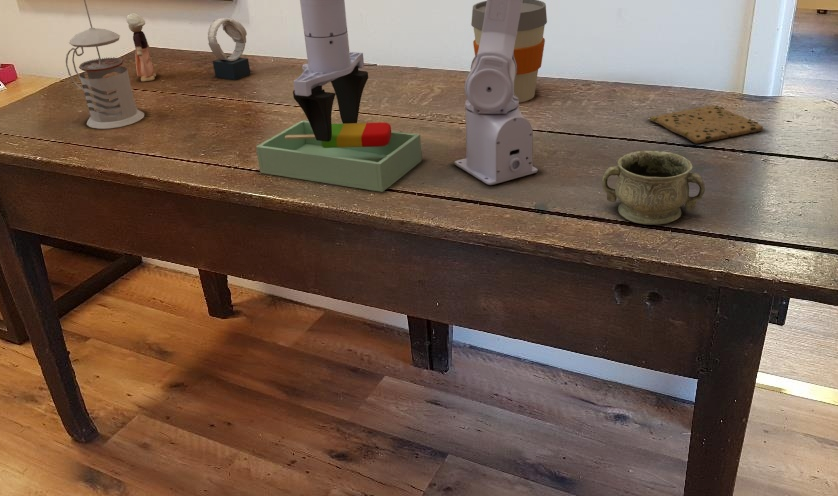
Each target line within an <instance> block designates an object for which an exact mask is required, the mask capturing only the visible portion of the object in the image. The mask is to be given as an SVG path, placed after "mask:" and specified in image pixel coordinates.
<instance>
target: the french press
mask: <svg viewBox="0 0 838 496" xmlns="http://www.w3.org/2000/svg"><path fill="white" fill-rule="evenodd" d="M83 3H84V7H85V10H86V14H87V18H88V21H89V25H90V27H89V28H88V29H85V30H83V31H81V32H78V33H77V34H75V35H74V36H73V37H72V38H71V39H70V40H69V42H68V44H69V45H71V46H72V48H70V49H69V50H68V52H67V53H66V55H65V67H66V70H67V73H68V76H69V78H70V80H71V81H72V82H73V84H74V85H75V86H76V87H78V89H80V90H82V91H83V94H84V97H85V101H86V105H87V109H88V113H89V117H88V119H87V122H86V125H87V126H88V127H89V128H93V129H113V128H121V127H125V126H129V125H132V124H134V123H137V122H140V121H141V120H142V119H143V118H145V113H144V112H143V111H141V110H140V109H139V108H138V107H137V105H136V104H137V103H136V99H135V98H134V97H135V95H134V92H133V91H132V90H133V87H132V85H131V79H130V75H129V72H128V68H127V67H125V66H122V65H123V63H124V59H122V58H120V57H114V56H113V57H104V58H103V57H101V55H100V50H99V47H103V46H107V45H108V46H109V45H111V44H114V43H116V42H119V41H120V38H121V35H120V34H118V33H117V32H115V31H113V30H110V29H106V28H95V27H93V25H92V21H91V17H90V13H89V9H88V5H87V1H86V0H83ZM79 48H80V49H81V53H78V49H79ZM84 48H96V52H97V56H98V58H95V59H89V60H87V61H84V62H81V63H80V64H79V66H78V68H79V69H80V70H81V71H83V72H81V73H80V74H79V72H78V70H77V67H76V63H75V55H76V56H77V57H81V56H82V55H84ZM72 51H73V52H72ZM71 52H72V60H71V61H72V65H73V68H74V72H75V74H76V76H77V77H78V78H79V80H80V83H81V85H79V84H78V83H76V81H75V80H74V78H73V77H72V74H71V72H70V68H69V65H68V59H69V55H70V53H71ZM85 72H86V73H87V77H88V78H86V75H85ZM111 73H118V74H116V75H111V76H108V77H107V76H106V75H108V74H111ZM105 76H106V77H105ZM81 86H82V87H81ZM107 92H109V93H107ZM91 95H93V96H91ZM93 102H94V103H95V104H94V103H93ZM96 110H97V111H96Z"/></svg>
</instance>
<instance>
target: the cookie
mask: <svg viewBox="0 0 838 496" xmlns="http://www.w3.org/2000/svg"><path fill="white" fill-rule="evenodd" d="M649 121H651V122H653V123H657V124H658V125H660V126H662V127H664V128H666V129H667V130H669V131H671V132H673V133H675V134H678V135H680V136H683V137H684V138H686V139H688V140H689V141H690V142H693V143H694V144H701V143H707V142H710V141H711V142H713V141H717V140H723V139H727V138H732V137H737V136H741V135H742V136H743V135H746V134H753V133H758V132H762V131H763V130H764V127H763V125H761V124H759V123H758V121H753V120H752V119H751V118H746V117H743V116H741V115H738V114H735V113H734V112H731V111H729V110H728V109H726V108H724V107H722V106H719V105H713V104H712V105H706V106H701V107H697V108H696V107H693V108H691V109H685V110H680V111H673V112H670V113H663V114H658V115H651V116H649Z"/></svg>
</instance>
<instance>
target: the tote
mask: <svg viewBox="0 0 838 496" xmlns="http://www.w3.org/2000/svg"><path fill="white" fill-rule="evenodd" d="M312 134H314V133H313V130H312V128H311V125H310V123H309V121H308V120H303V119H302V120H300V121H298V122H296V123H295V124H293V125H291V126H289V127H288V128H286V129H284V130H282V131H281V132H279V133H277V134H275V135H274V136H272V137H270V138H268V139H267V140H265V141H263V142H261V143H260V144H257V145H256V146H255V149H256V155H257V161H258V167H259V172H260V173H261V174H265V175H273V176H279V177H285V178H292V179H298V180H302V181H303V180H304V181H309V182H316V183H317V182H318V183H323V184H330V185H334V186H341V187H349V188H355V189H360V190H367V191H375V192H380V193H383V192H385V190H387V189H389V188H390V187H391V186H392V185H394V184H395V183H396V182H397V181H398V180H400V179H402V177H404V176H405V175H406V174H408V172H410V171H412V169H414V168H415V167H416V166H417V165H418V164H420V163H421V162H422V161H423V160H422V159H423V158H422V141H421V134H417V133H410V132H402V131H395V130H391V137H390V141H389V143H388V144H387V145H386V146H380V147H342V148H323V147H322V142H321V141H318V140H316V138H314V139H285V136H286V135H312Z"/></svg>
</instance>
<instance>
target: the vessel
mask: <svg viewBox="0 0 838 496" xmlns="http://www.w3.org/2000/svg"><path fill="white" fill-rule="evenodd" d="M692 169H693V164H692V161H690V160H689V159H688V158H686V157H684V156H683V155H681V154H677V153H675V152H670V151H664V150H637V151H633V152H630V153H627V154H623V156H621V157H620V158H618V160H617V166H616V165H613V166H610V167H608V168H607V169H606V170H605V172H604V174H603V175H602V179H601V186H602V188H603V190H604V191H605V192H606V200H607V201H608V202H610V203H615V202H616V201H617V199H618V201H620V202H621V203H619V205H618V207H617V211H618V213H619V216H621V217H623V218H624V219H625V220H627V221H630V222H633V223H636V224H641V225H648V226H649V225H651V226H652V225H653V226H654V225H655V226H656V225H657V226H658V225H665V224H669V223H672V222H675V221H676V220H678V219H679V218H681V215H682V209H681V207H682V206H684V205H685V209H686V211H689V212H693V211H695V209H696V208H697V202H698V201H700V200H701V199H702V198H703V196H704V195H705V191H706V186H705V185H706V184H705V182H704V180H703V177H702V176H701V175H700V174H698V173H697V172H692ZM611 176H617V180H616V182H615V186H614V188H613V187H610V186H609V185H608V180H609V178H610V177H611ZM690 183H692V184H696V185H698V187H699V191H698V193H697V195H694V196H690Z"/></svg>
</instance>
